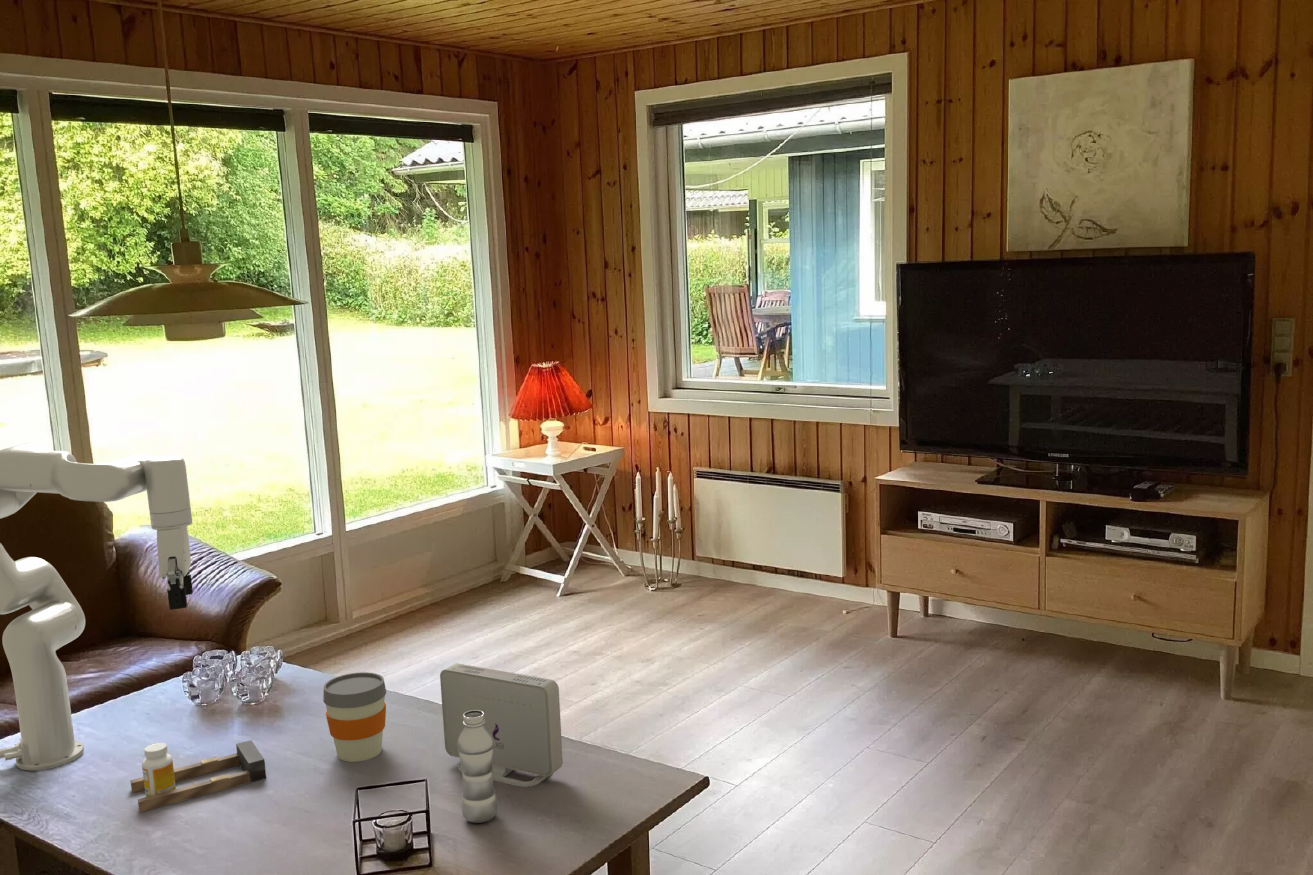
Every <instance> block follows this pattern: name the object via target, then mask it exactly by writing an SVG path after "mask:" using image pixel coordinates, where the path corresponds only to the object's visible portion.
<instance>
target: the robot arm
mask: <svg viewBox="0 0 1313 875" xmlns="http://www.w3.org/2000/svg"><path fill="white" fill-rule="evenodd" d="M186 467H187V466H186V462H185V459H184V458H183V457H181V456H180V455H174V454H173V455H163V456H161V455H159V456H155V455H147V454H132V455H128V456H126V457H122V458H118V459H115V460H111V461H108V462H106V463H84V462H77V459H76V457H75V456H74V455H73V454H72V453H70V452H68V451H65V450H52V449H51V448H49V446H46V445H44V444H42V443H38V442H28V443H23V444H19V445H14V446H12V447H7V448H3V449H0V519H3V518H8V517H9V516H11V515H13V514H16V513H17V512H18V511H19V510H21V509H22V508H23V507H24V506H25V505H26V504H27V503H28V502H29V501H30V500H31V499H32V498H33V497H34V496H35V495H36V494H37V493H43V494H45V493H46V494H59V495H61V496H62V497H64V498H68V499H69V500H73V501H82V502H95V503H97V502H98V503H100V502H101V503H108V502H109V503H110V502H117V501H120V500H123V499H126V498H129V497H130V496H133V495H137V494H141V493H143V492H146V495H147V502H148V510H149V518H150V519H149V520H150V526H151V527H150V528H151V529H152V530H156V547H157V556H158V559H157V560H158V569H159V578H160V579H161V580H165V578H167V583H166V584H167V586H166V587H167V590H166V592H167V599H168V600H167V601H168V608H169V610H180V609H186V608H188V601H187V600H188V598H187V596H190V595H193V592H194V591H193V582H192V575H191V570H190V569H191V566H192V563H191V562H192V560H191V548H190V547H191V546H190V540H189V532H188V526H191V525H192V524H193V515H192V508H191V501H190V500H191V499H190V491H189V483H188V482H189V481H188V475H187V474H188V473H187V468H186ZM27 606H29V607H30V608H31V610H29V611H28V612H25V613H22V614H21V615H19V616H17V617H16V618H14V619H13V620H12V621H11V622H10V623H9V624H8V625H7V626H6V628H5V629H4V630H3V633H2V646H3V651H4V653H5V655H6V658H7V661H8V663H9V667H10V671H11V675H12V680H13V687H14V695H15V702H16V709H17V716H18V717H17V718H18V725H19V731H20V738H19V743H16V744H14V746H11V747H3V748H0V759H5V760H4V761H10V760H13V759H15V765H16V768H19V769H20V770H24V771H32V772H33V771H43V770H48V769H49V770H51V769H54V768H58V767H61V766H64V765H67V764H69V763H71V762H73V761H75V760H76V759H78V758H80V757H81V756H82V755H83V753H84V751H85V747H84V743H82V742H81V741H79V740H75V734H74V733H75V732H74V726H73V716H72V710H71V701H70V697H69V688H68V682H67V674H66V669H65V666H64V665H63V663H62V662H61V660H60V658H58V656H57V653H56V651H57V650H59V649H60V648H62V647H63V646H65V645H67V644H69V643H71V642H73V641H74V640H76V639H77V638H79V636H81V635H82V633H83V632H84V630H85V627H86V616H85V613H84V611H83V609H82V606H81V605H80V603H79V602H78V601H77V599H76V597H75V596H74V595H73V593H72V591H71V589H70V588H69V587H68V585H67V584H66V582H65V581H64V580H63V578H62V576H61V575H60V573H59V572H58V571H57V569H56V568H55V567H54V566H53V565H52V564H51V563H50V562H48V561H46V560H45V559H43V558H41V557H36V556H27V557H23V558H20V559H17V560H14V559H13V558H12V557H11V556H10V554H9V553H8V552H7V550H6V549H5V547H4V545H3V544H2V543H1V542H0V615H6V614H10V613H13V612H16V611H18V610H21V609H23V608H25V607H27Z"/></svg>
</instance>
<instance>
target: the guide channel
mask: <svg viewBox="0 0 1313 875" xmlns="http://www.w3.org/2000/svg"><path fill="white" fill-rule="evenodd" d="M235 745H236V746H235V747H236V753H232V754H229V755H225V756H224V755H223V756H220V757H217V756H214V757H210V758H207V759H202V760H200V762H197V763H194V764H189V765H185V766H182V767H178V768H173V769H174V778H175V783H176V782H179V781H185V780H187V779H191V778H195V777H199V776H203V775H206V774H209V773H211V774H212V773H214V772H218V771H222V770H225V769H229V768H232V767H237V766H240V768H241V769H242V771H240V772H235V773H232V774H222V775H218V776H214V777H210V778H209V780H206V781H201V782H198V783H194V784H191V785H186V786H183V787H179V788H176V789H175V790H171V791H167V792H163V793H159V794H156V795H152V796H148V797H146V796H144V797H142V798H137V805H138V806H137V807H138V810H139V813H142V812H146V811H151V810H154V809H158V808H162V807H164V806H168V805H172V804H176V803H179V802H183V801H187V800H190V799H195V798H198V797H201V796H205V795H209V794H214V793H217V792H220V791H225V790H228V789H231V788H235V787H239V786H243V785H247V784H250V783H254V782H257V781H261V780H265V779H267V773H266V772H267V771H266V763H265V762H266V761H265V758H264V756H263V755H262V754H261V752H260V750H259V749H258V747H257V746H256V745H255V743H254V742H253V741H252V740H251V739H250V740H246V741H243V742H238V743H236V744H235ZM130 788H131V793H132V794H133V793H137V792H142V791H145V786H144V778H143V776H142V777H139V778H138V777H137V778H133V779H131V780H130Z"/></svg>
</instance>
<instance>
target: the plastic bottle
mask: <svg viewBox="0 0 1313 875" xmlns="http://www.w3.org/2000/svg"><path fill="white" fill-rule="evenodd" d="M463 719H464V721H463V725H464V726H465V728H464V730H463V731H462V733H461V734H460V736H459V739H458V743H457V745H458V751H459V756H460V758H459V759H460V763H461V766H462V773H461V774H462V795H461V801H460V810H461V813H462V816H463V818H465V820H466V821H468V822H469V823H474V824H479V823H481V824H482V823H486V822H489V821H491V820H492V819H493V818H494V817H495V816H496V814H497V811H498V803H499V802H498V799H497V798H498V797H497V794H496V791H495V785H494V780H493V777H492V769H493V765H492V758H493V746H494V740H493V737H492V735H491V733H490V732H489V731H488V729H487V728H486V727H485V726H484V724H485V719H484V713H483V712H482V711H480V710H471V711H467V712H465V713H464V714H463Z"/></svg>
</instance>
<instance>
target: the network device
mask: <svg viewBox="0 0 1313 875" xmlns="http://www.w3.org/2000/svg"><path fill="white" fill-rule="evenodd" d="M439 682H440V693H441V695H440V696H441V697H440V698H441V707H442V708H441V710H442V721H443V722H442V725H443V736H444V738H443V739H444V749H445V751H446V753H447V754H448V755H449V756H451V757H455V758H459V759H460V756H459V751H458V745H457V743H458V739H459V736H460V734H461V733H462V731H463V730H464V728H465V726H464V725H463V721H464V719H463V714H464V713H465V712H467V711H471V710H480V711H482V712H483V713H484V719H485V724H484V726H485V727H486V728H487V729H488V731H489V732H490V733H491V735H492V737H493V740H494V746H493V758H492V777H493V782H494V781H495V782H500V783H503V784H506V785H507V784H508V785H510V786H511V785H512V786H517V787H522V788H526V787H527V788H528V786H530V787H534V786H536V785H539V784H540V783H542V782H543V781H544V780H546V779H547V778H548V777H550V776H552V775H553V774H554V773H555V772H557V771H558V770H559V769H561V768H562V766H563V764H564V762H563V743H562V742H563V741H562V726H561V725H562V723H561V705H560V704H561V702H560V688H559V684H558V683H557V682H556V681H555V680H554V679H552V678H551V679H549V678H545V677H539V676H532V675H528V674H522V673H515V672H509V671H503V670H498V669H497V670H496V669H494V668H493V669H491V668H487V667H486V668H485V667H480V666H474V665H468V664H465V663H463V664H462V663H454V664H452V665H450V666H449V667H446V668H445V669H443V670H441V672H440V673H439ZM457 768H458V771H459V773H461V774H462V766H461V762H460V763H459V764H458V767H457ZM513 771H517V772H523V773H528V774H531V775H536V777H535V778H533V779H532V780H529V781H522V780H519V779H518V780H517V779H514V778H510V777H506V776H507V775H508V774H510V773H512V772H513ZM546 777H547V778H546ZM542 780H543V781H542ZM541 781H542V782H541ZM533 785H534V786H533Z"/></svg>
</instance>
